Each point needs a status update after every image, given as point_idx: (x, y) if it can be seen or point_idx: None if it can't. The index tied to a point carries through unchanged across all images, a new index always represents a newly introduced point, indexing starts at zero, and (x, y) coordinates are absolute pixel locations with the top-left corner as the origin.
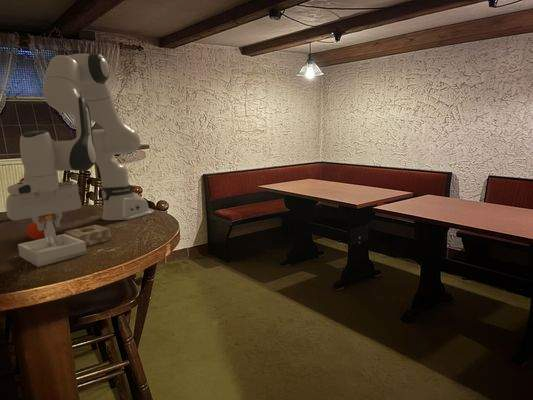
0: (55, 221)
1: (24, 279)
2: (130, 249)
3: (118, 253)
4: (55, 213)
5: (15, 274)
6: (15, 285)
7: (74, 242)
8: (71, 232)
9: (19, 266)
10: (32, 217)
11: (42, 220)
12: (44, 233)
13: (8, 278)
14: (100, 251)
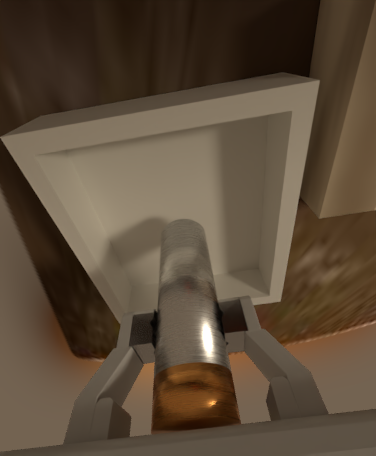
0: (240, 341)
1: (99, 330)
2: (350, 297)
3: (312, 305)
4: (275, 407)
5: (73, 300)
6: (86, 343)
7: (269, 245)
8: (373, 77)
9: (71, 252)
10: (76, 436)
11: (154, 380)
12: (158, 290)
13: (62, 312)
14: (301, 269)
